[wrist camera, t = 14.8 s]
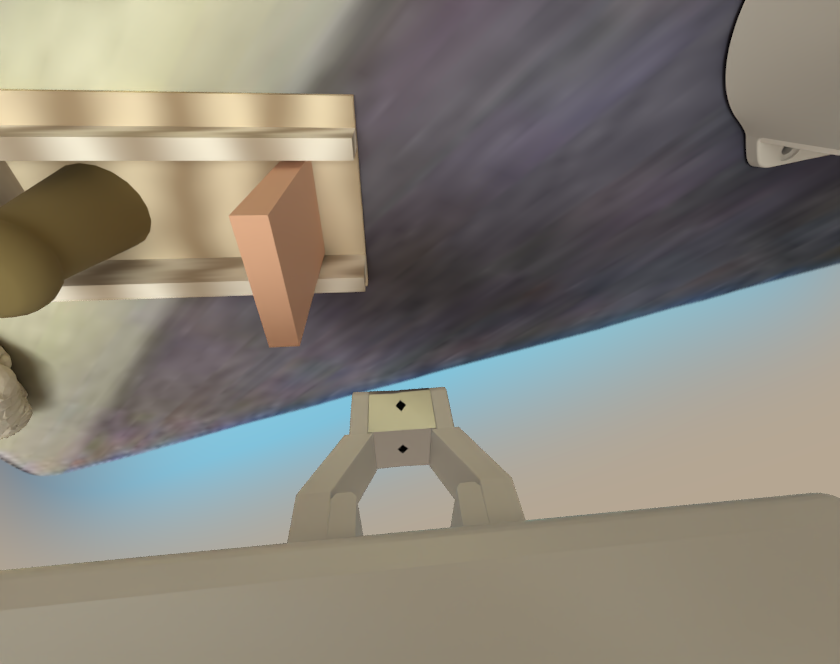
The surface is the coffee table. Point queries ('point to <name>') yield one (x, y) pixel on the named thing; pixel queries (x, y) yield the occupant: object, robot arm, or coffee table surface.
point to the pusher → (281, 248)
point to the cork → (64, 233)
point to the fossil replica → (11, 400)
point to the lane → (190, 178)
